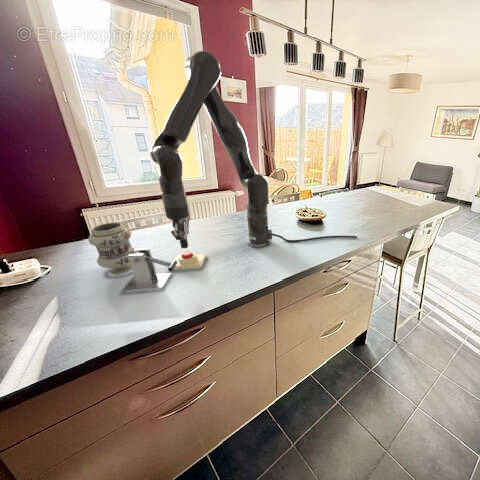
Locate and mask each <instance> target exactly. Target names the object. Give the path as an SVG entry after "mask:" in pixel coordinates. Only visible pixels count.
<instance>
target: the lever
mask: <svg viewBox="0 0 480 480" xmlns="http://www.w3.org/2000/svg"><path fill="white" fill-rule="evenodd" d="M135 254H144V255H145V259H146V261H150V262H153V263H154V264H157V265H160V266H165V267H168V268H167V269H168V271H169V272H173V270H175V269H174V267H175V266H176V264H177V263H178V262H177V261H176V260H174V259H173V261H172V262H169V261H166V260H163V259H159V258H154V257H152V258H151V257H148V256H147V253H144V252H140V251H137V252H136V253H135Z"/></svg>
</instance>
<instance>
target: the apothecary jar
mask: <svg viewBox="0 0 480 480" xmlns="http://www.w3.org/2000/svg"><path fill="white" fill-rule="evenodd" d="M90 231H91V234H90V235H89V236H88V243H89V244H90V245H92V246H94V247H95V248H96V251H97V253H98V257H97V259H96V263H97V265H98V266H99V267H101V268H103V269H109V272H110V273H111V274H123V273H126V272H129V271H132V268H131V265H130V262H129V259H128V255H129V254H134V251H133V250H134V249H135V247H132V245H131V242H130V239H131V237H132V231H130V229H128V228H126V227H124V226H123V224H122V223H121V222H106V223H101V224H98V225H95V226H93V227H92V228H91V229H90Z"/></svg>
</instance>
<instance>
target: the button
mask: <svg viewBox="0 0 480 480" xmlns="http://www.w3.org/2000/svg"><path fill="white" fill-rule="evenodd" d="M192 252H193V251H191V250H185V251H182V252H181V254H182V258H183V259H188V258H191V257H193V255H192Z"/></svg>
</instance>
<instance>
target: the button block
mask: <svg viewBox="0 0 480 480" xmlns="http://www.w3.org/2000/svg"><path fill="white" fill-rule="evenodd" d="M191 252H192V255H193V257H191V258H188V259H183V258H182V253H181V254H178V255H176V256H175V258H174V259H173V261H174V260H176V261H177V262H178V263H177V264H176V266H175V267H174V269H173V270H181V269H182V270H184V269H201V268H202V266H203V264H204V262H205V260H206V258H207V255H206V253H201V254H200V253H199V254H198V253H196V252H193V251H191Z"/></svg>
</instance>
